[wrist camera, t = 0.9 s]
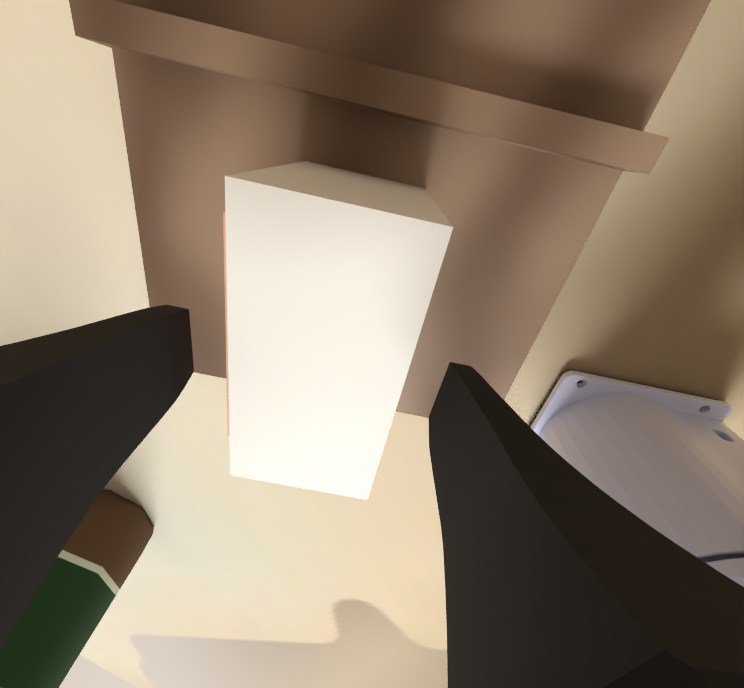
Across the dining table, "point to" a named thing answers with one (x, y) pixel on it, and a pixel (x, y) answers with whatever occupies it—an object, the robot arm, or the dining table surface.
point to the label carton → (322, 318)
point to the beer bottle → (75, 594)
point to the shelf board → (394, 139)
